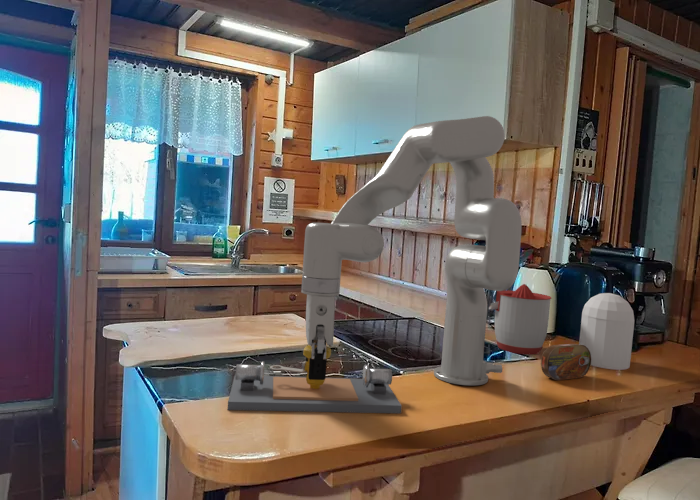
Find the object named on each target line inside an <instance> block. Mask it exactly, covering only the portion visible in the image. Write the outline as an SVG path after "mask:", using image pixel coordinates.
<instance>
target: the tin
mask: <svg viewBox="0 0 700 500" xmlns="http://www.w3.org/2000/svg"><path fill="white" fill-rule="evenodd" d="M540 362H541V363H540V365H541V366H540V367H541V371H542V373H543V374H544V375H545V377H547V378H549V379H552V380H555V381H565V380H572V379H573V380H574V379H581V378H583V377H585V376H586V375H587V374H588V372H589V370H590V367H591V366H592V365H591V354H590V351H589V349H588V348H587V347H586V346H584V345H579V343H568V344H567V343H566V344H564V343H563V344H554V345H553V344H552V345H549V346H548V347H546V348H545V349H544V350H543V352H542V354H541V360H540Z"/></svg>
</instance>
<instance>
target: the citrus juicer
mask: <svg viewBox="0 0 700 500" xmlns="http://www.w3.org/2000/svg"><path fill="white" fill-rule="evenodd" d="M495 298H496V299H495V301H493V302H491V303H490V305H489V307H488V310H494V311H495V313H494V334H495V338H496V339H495V341H496V344H497V347H498V349H500V350H503V351H505V352H508V353H513V354H517V355H527V356H528V355H532V356H533V355H538V354H540V352H541V350H542V349H543V345H544V342H545V340H546V337H547V334H548V328H549V319H550V311H551V310H550V308H551V300H552V299H553V298H552V296H549V295H547V294H541V293H537V292H533V291H532V290H531V288H530V287H529V286H528V285H527V284H525V283H523V284H522V285H520V286H519V287H518V288H516V289H515V290H509V289H507V290H504V291H496V297H495Z"/></svg>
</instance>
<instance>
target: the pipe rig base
mask: <svg viewBox="0 0 700 500" xmlns="http://www.w3.org/2000/svg"><path fill="white" fill-rule="evenodd" d="M235 377H236V374H234V376H233V380H232V385H231V388H230V393H229V396H228V400H227V411H262V412H263V411H265V412H274V411H275V412H308V413H312V412H315V413H317V412H319V413H356V414H357V413H364V414H365V413H367V414H368V413H369V414H374V413H375V414H402V404H401V402H400V401H399V399H398V397H397V396H396V394H395V393H394V391H393V390H392V388H391V387H390V385H388V384H385V386H386V394H374V393H373V391H372V390H371V384H369V385H368V387H367V388H366V387H364V386H363V378H349V377H348V378H347V377H346V378H345V377H326V378H325V381H324V383H323V384H322V385H320V388H318V389H313V388H310V385H309V384H308V383H307V381H306V376H281V375H277V376H276V375H264V379H263V385H260V381H254V388H253V391H240V390H241V380H235Z"/></svg>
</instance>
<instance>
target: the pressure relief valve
mask: <svg viewBox="0 0 700 500" xmlns="http://www.w3.org/2000/svg"><path fill="white" fill-rule="evenodd" d="M307 345H308V344H307ZM307 345H305V347H304V349H303V353H302V354H303V356H304V357H305V358H306V357H307V358H308V362H307V361H306V360H305V361H303V362H302V363H301V368H296V367H288V366H287V367H286V366H283V365H279V364H275V365H274V364H273V365H270V366H269V370H271V371H284V372H285V371H286V372H293V373H302V374H304V373H305V372H306V376H305V377H306V381H307V383H308V384H309V385H310V388H313V389H318V388H320V385H322V384H323V383H324V381H325V380H310V379H309V377H308V376H309V361H310V358H311V346H309V345H308V346H307ZM314 353H315V352H314ZM331 355H332V349H331V347H329V346H328V345H326V358H327V360H328V359H329V358H330V357H331Z"/></svg>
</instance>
